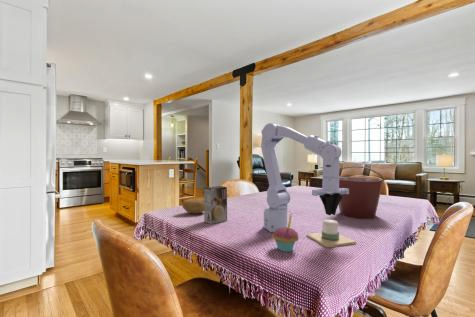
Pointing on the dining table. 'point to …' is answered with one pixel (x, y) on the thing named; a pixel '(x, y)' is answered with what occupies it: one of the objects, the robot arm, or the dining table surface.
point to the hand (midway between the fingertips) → (330, 214)
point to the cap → (330, 227)
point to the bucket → (360, 195)
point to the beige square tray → (331, 239)
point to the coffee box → (215, 204)
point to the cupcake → (285, 237)
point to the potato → (194, 205)
